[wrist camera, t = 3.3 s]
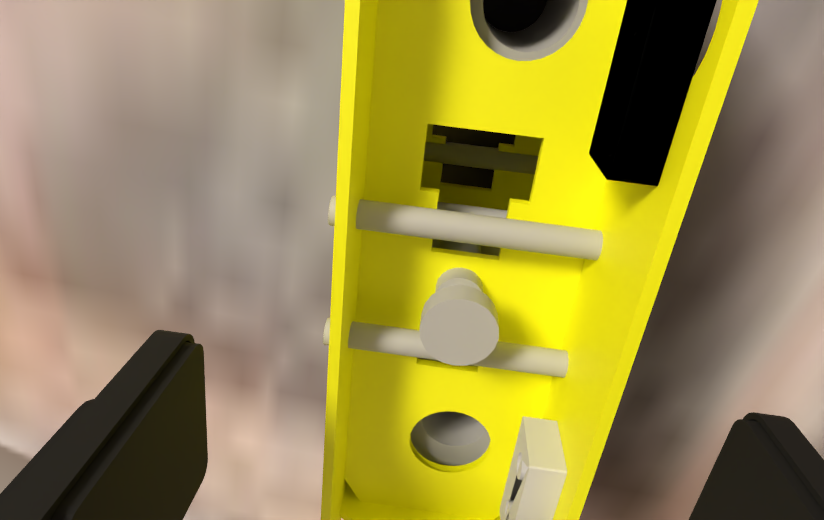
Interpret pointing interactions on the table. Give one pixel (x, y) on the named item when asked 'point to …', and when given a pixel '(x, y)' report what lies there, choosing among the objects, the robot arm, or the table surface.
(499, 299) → the yellow toy chassis
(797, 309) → the table surface
